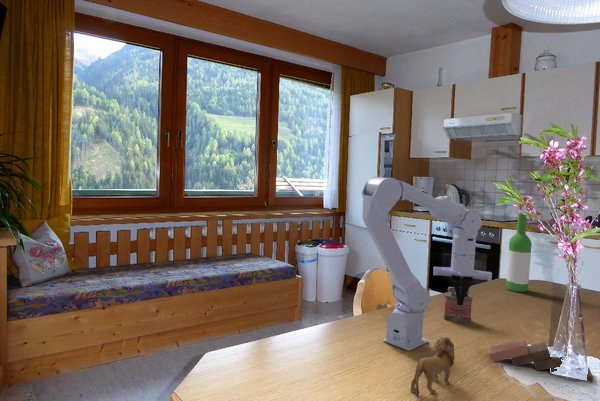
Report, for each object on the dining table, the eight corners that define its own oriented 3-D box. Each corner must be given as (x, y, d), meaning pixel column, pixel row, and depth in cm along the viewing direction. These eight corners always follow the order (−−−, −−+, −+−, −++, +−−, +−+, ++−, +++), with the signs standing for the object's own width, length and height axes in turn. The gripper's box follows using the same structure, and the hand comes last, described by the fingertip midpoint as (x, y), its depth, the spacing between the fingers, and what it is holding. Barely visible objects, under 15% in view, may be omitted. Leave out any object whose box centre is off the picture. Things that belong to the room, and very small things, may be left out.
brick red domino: (490, 353, 104) (524, 345, 101) (490, 346, 109) (524, 338, 106) (493, 361, 104) (528, 353, 101) (494, 354, 109) (527, 346, 105)
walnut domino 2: (533, 362, 101) (571, 355, 97) (533, 353, 105) (570, 347, 101) (536, 370, 100) (575, 364, 96) (536, 361, 105) (573, 355, 101)
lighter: (469, 318, 134) (471, 286, 134) (472, 322, 131) (474, 289, 130) (442, 316, 135) (444, 285, 134) (444, 320, 132) (446, 288, 131)
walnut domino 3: (550, 368, 99) (592, 376, 95) (548, 359, 103) (588, 367, 100) (550, 376, 99) (592, 385, 96) (548, 367, 104) (588, 376, 100)
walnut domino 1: (510, 357, 103) (546, 349, 99) (510, 350, 107) (545, 341, 104) (514, 366, 102) (550, 358, 99) (513, 358, 107) (548, 350, 104)
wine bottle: (513, 286, 175) (519, 212, 173) (532, 291, 169) (538, 214, 166) (501, 288, 172) (507, 212, 169) (519, 293, 165) (526, 214, 163)
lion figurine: (434, 370, 98) (436, 331, 98) (457, 378, 95) (460, 338, 94) (404, 395, 87) (407, 351, 86) (430, 405, 84) (433, 359, 83)
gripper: (434, 254, 114) (431, 304, 115) (494, 259, 110) (491, 312, 111) (434, 249, 121) (431, 297, 122) (491, 254, 117) (487, 304, 118)
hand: (459, 303), depth 117 cm, fingers closed
